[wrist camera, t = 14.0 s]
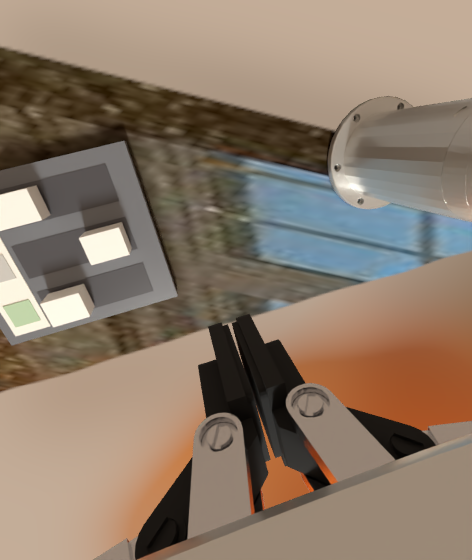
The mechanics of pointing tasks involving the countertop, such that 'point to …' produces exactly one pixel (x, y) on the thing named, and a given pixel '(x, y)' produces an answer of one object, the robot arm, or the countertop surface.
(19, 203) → the tab
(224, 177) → the countertop surface
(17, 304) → the switch panel
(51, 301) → the tab
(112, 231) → the tab
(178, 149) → the countertop surface
